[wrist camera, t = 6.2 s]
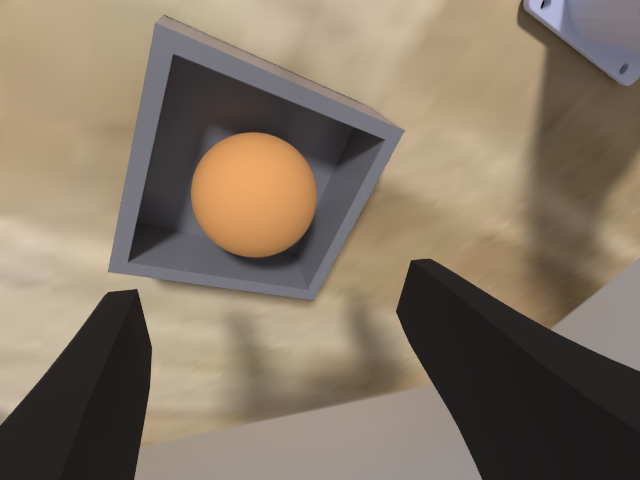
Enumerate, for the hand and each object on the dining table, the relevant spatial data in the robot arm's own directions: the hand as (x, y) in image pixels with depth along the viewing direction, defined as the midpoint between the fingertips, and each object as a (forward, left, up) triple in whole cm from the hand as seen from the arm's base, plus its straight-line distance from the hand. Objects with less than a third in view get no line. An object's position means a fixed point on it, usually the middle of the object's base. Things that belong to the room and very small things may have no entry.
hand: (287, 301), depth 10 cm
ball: (0, 0, -9) cm, 9 cm away
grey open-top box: (0, 0, -9) cm, 9 cm away
